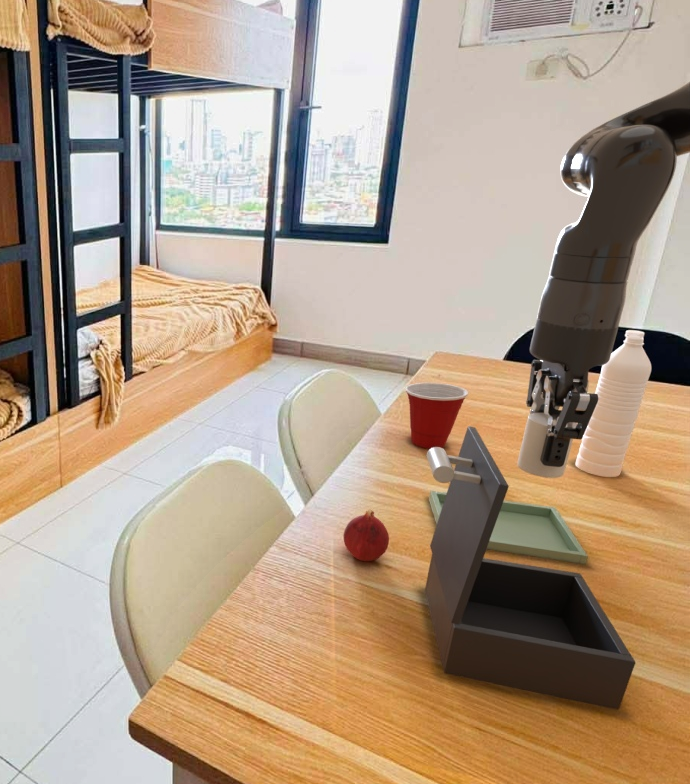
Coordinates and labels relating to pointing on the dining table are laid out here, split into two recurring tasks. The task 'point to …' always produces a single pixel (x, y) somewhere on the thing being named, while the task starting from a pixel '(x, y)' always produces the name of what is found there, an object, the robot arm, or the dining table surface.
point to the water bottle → (615, 408)
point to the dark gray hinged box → (532, 634)
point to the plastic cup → (433, 412)
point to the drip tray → (528, 531)
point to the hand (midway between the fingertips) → (543, 454)
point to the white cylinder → (538, 448)
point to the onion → (366, 537)
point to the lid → (464, 517)
